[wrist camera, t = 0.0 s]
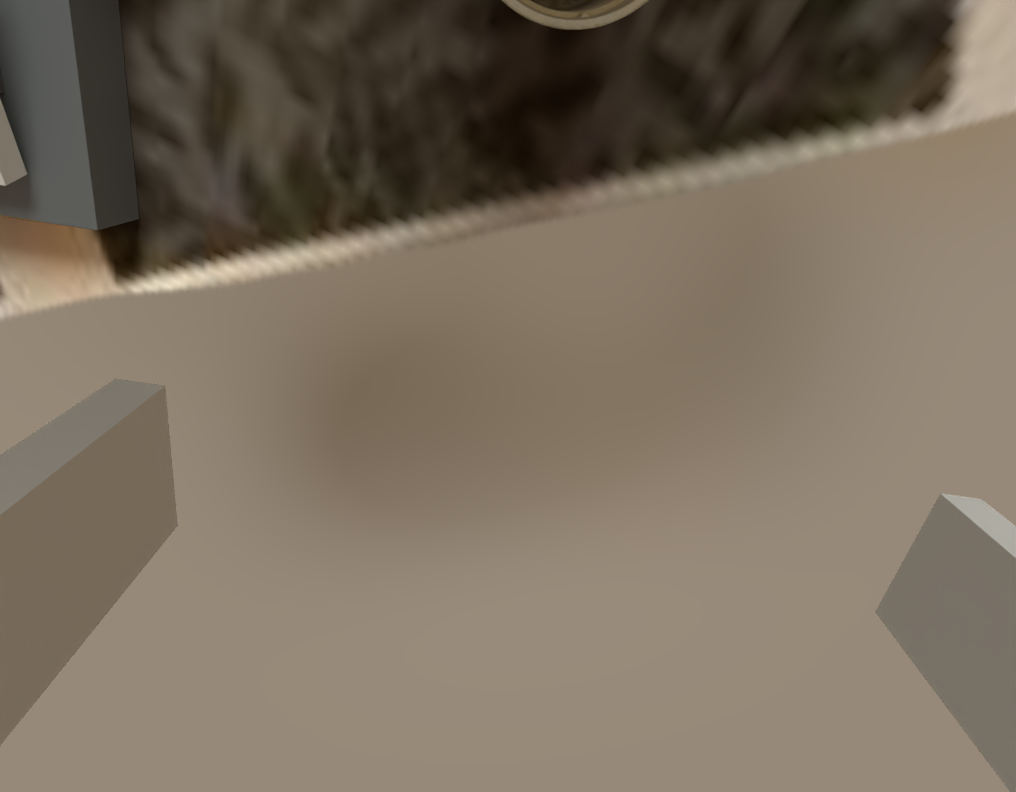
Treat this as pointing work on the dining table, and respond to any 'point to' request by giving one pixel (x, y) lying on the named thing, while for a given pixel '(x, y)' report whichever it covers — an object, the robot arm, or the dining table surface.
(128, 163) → the switch unit
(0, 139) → the block
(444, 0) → the dining table surface
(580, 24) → the flower pot
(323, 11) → the dining table surface
